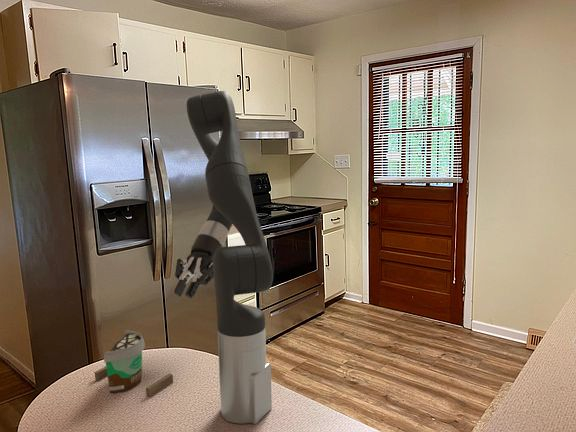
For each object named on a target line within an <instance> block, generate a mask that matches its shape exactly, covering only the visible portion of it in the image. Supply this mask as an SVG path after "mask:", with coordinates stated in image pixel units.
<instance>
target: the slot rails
mask: <svg viewBox="0 0 576 432" xmlns="http://www.w3.org/2000/svg"><path fill="white" fill-rule="evenodd" d="M94 378H95V380H94V381H96V382H99V381H102V380H104V379H105V378H108V375H107V368H106V365H105V366H103V367H102V368H99V369H98V370H95V371H94ZM173 383H174V375H173V374H172V373H167V374H166V375H164V376H163V377H161V378H159V379H158V380H157V381H155V382H153V383H152V384H150V385H148V386H146V388H145V394H146V395H145V396H146V398H148V399H151V398H152V397H154V396H155V395H157V394H159V393H160V392H162V390H163V391H164V389H166V388H168V387H170V385H173Z"/></svg>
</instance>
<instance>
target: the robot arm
mask: <svg viewBox="0 0 576 432" xmlns="http://www.w3.org/2000/svg"><path fill="white" fill-rule="evenodd" d="M186 112H187V114H186V115H187V118H188V121H189V124H190V127H191V129H192V131H193V134H194V136H195V138H196V140H197V141H198V143H199V145H200V147H201V149H202V151H203V152H204V155H205V157H206V158H207V164H206V167H205V170H204V171H205V172H204V176H205V181H206V182H205V183H206V187H207V189H206V190H207V194H208V198H209V200H210V202H211V203H212V207H211V211H210V213H209V215H208V217H207V219H206V221H205V222H204V224H203V225H202V227H201V229H200V231H199V232H198V234H197V236H196V238H195V240H194V241H193V244H192V245H191V248H190V250H191V251H190V254H189V255H187V257H186V258H185V259H181V258H178V259H176V264H175V271H174V277H175V278H176V279H177V280H178V282H177V284H176V286H175V288H174V294H175V296H177V297H182V295H183V294H184V291H185V288H186V287H187V284H188V283H189V281H190V280H191V279H192V281H191V282H190V284H189V285H188V288H187V290H186V291H185V296H186V297H187V299H192V298H193V297H194V296H195V295H196V292H197V291H198V289H199V287H201V286H202V285H204V286H207V285H208V284H209V283H210V282H211V281H212V279H213V281H214V289H215V290H214V292H215V301H216V302H215V303H216V304H215V305H216V321H217V324H216V325H217V344H218V345H217V347H218V348H217V350H218V351H217V352H218V370H219V394H220V412H221V413H220V414H221V417H222V418H223V419H225V420H226V421H227V422H230V423H233V424H254V425H256V424H257V423H259V421H261V420H262V419H263V418H264V417H265V416H266V415H267V414H268V413H269V411H271V409H272V408H273V407H272V405H273V403H272V402H273V401H272V370H271V369H272V366H271V365H272V364H271V363H270V362H267V344H266V343H267V341H266V338H267V337H266V333H267V332H266V314H265V313H264V311H263V310H261V309H260V308H259V307H256V306H253V305H250V304H249V305H248V304H245V303H242V302H241V303H240V302H239V301H237V300H235V296H239V295H241V296H242V295H246V294H247V295H248V294H255V293H262V292H263V293H264V292H265V291H269V289H270V288H271V287H272V285H273V279H274V274H273V273H274V270H273V265H272V260H271V255H270V252H269V249H268V246H267V242H266V240H265V236H264V233H263V230H262V228H261V224H260V220H259V217H258V214H257V210H256V203H255V201H254V200H255V199H254V196H253V190H252V184H251V179H250V175H249V171H248V167H247V164H246V163H247V162H246V159H245V156H244V152H243V149H242V145H241V141H240V140H241V139H240V134H239V133H240V132H239V128H238V120H237V113H236V110H235V104H234V101H233V99H232V97H231V95H230V93H228V92H227V91H225V90H216V91H213V92H207V93H204V94H197V95H194V96H191V97H189V98H188V99H187V100H186ZM217 132H218V133H219V132H222V133H221V136H220V139H219V141H216V140H215V139H214V138H213V137H212V135H211V134H213V133H217ZM232 226H234V227H235V228H236V230H237V232H238V233H239V234H240V236H241V238H242V240H243V243H244V245H243V244H242V245H230V246H224V245H225V243H226V240H227V238H228V234H229V232H230V230H231V228H232Z"/></svg>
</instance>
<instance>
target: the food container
mask: <svg viewBox="0 0 576 432" xmlns="http://www.w3.org/2000/svg"><path fill="white" fill-rule="evenodd" d="M124 331H125V333H124V334H125V335H124V336H122V338H121V339H120V340H117V342H115V344H114V345H113V347H112V348H111V349H110V350H109V351H108V350H107V351H104V357H103V358H104V359H103V362H104V363H105V366H106V368H107V375H108V376H107V381H108V388H109V394H110V395H115V394H116V395H117V394H120V393H125V392H128V391H131V390H133V389H134V388H137V387H138V386H139V385H140V384H141V382H142V379H143V375H142V374H143V350H144V349H145V347H146V343H145V341H144V338H143V336H142V334H141V333H140V332H138V331H133V330H124Z"/></svg>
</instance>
